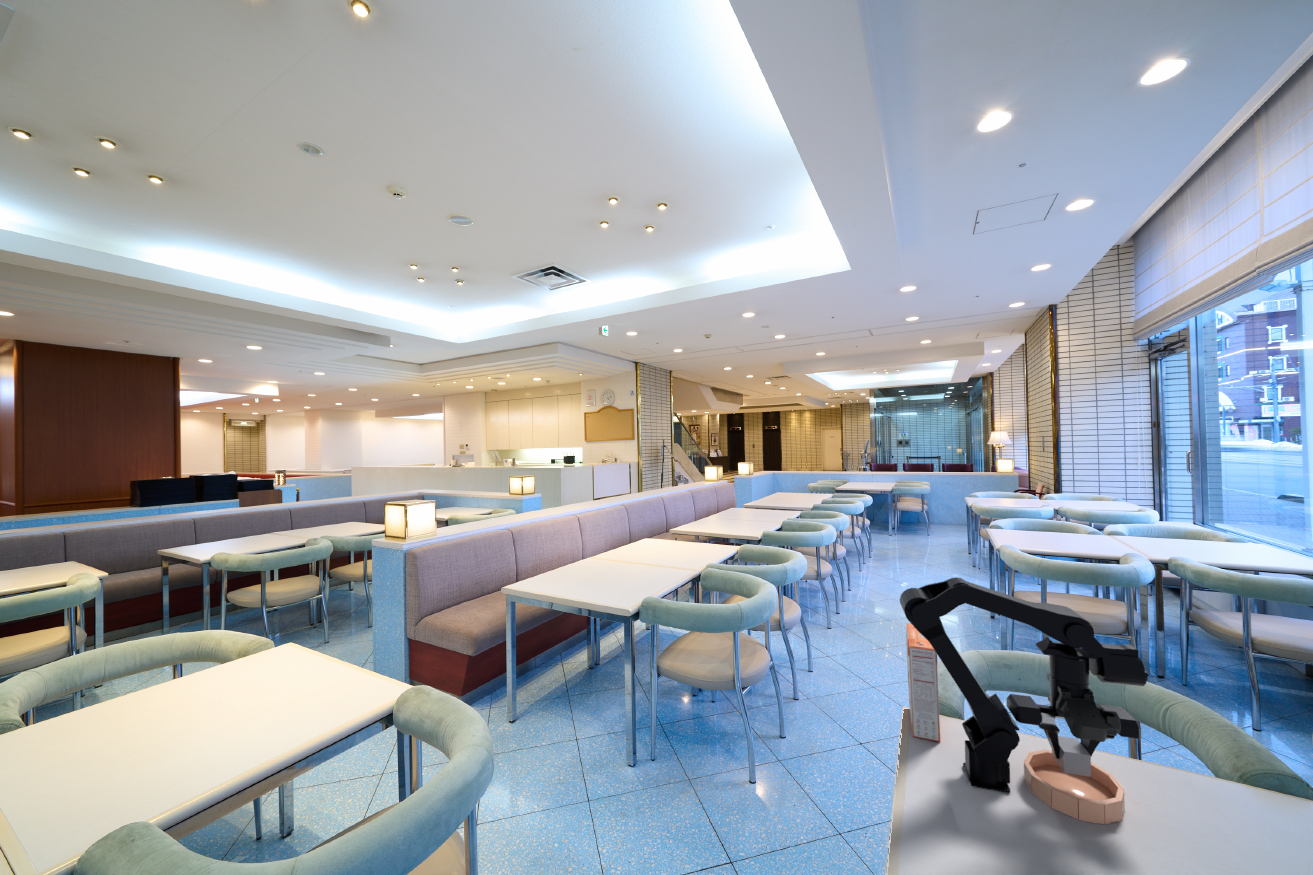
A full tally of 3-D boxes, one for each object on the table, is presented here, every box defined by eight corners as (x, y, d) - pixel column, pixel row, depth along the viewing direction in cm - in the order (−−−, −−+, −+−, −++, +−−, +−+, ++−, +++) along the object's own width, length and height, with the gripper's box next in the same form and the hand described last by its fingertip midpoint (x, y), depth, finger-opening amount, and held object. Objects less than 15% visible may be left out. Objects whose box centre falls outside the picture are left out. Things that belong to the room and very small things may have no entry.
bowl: (1043, 813, 88) (1043, 794, 88) (1014, 761, 101) (1013, 745, 101) (1142, 830, 83) (1142, 810, 83) (1098, 774, 97) (1097, 757, 96)
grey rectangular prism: (1064, 772, 90) (1063, 751, 90) (1052, 755, 95) (1051, 734, 95) (1091, 776, 89) (1090, 755, 89) (1077, 758, 94) (1076, 738, 94)
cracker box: (907, 704, 123) (905, 621, 122) (935, 709, 120) (932, 624, 120) (910, 737, 110) (907, 645, 110) (941, 743, 108) (938, 649, 107)
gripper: (1027, 692, 87) (1029, 779, 87) (1161, 708, 81) (1162, 801, 81) (1004, 663, 98) (1006, 740, 98) (1121, 675, 92) (1123, 757, 92)
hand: (1070, 759), depth 92 cm, fingers closed on grey rectangular prism, 4 cm apart
